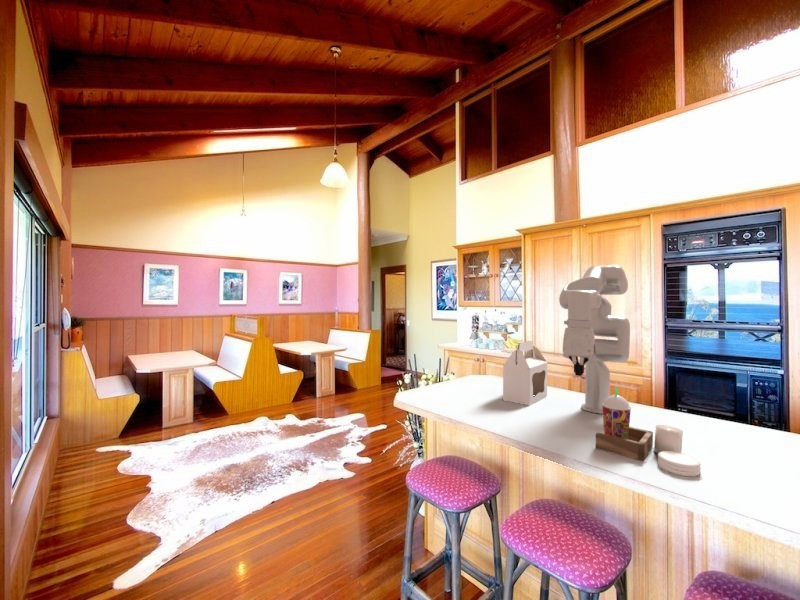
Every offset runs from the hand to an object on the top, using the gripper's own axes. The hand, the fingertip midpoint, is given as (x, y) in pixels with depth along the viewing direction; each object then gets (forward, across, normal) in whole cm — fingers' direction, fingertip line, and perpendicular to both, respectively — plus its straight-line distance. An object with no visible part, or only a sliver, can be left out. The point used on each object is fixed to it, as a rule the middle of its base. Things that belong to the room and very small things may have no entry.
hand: (578, 374), depth 133 cm
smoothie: (+22, +12, -1) cm, 25 cm away
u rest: (+22, +14, -1) cm, 26 cm away
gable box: (+23, -35, +32) cm, 53 cm away
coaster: (+22, +30, -7) cm, 38 cm away
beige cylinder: (+22, +26, +3) cm, 34 cm away
